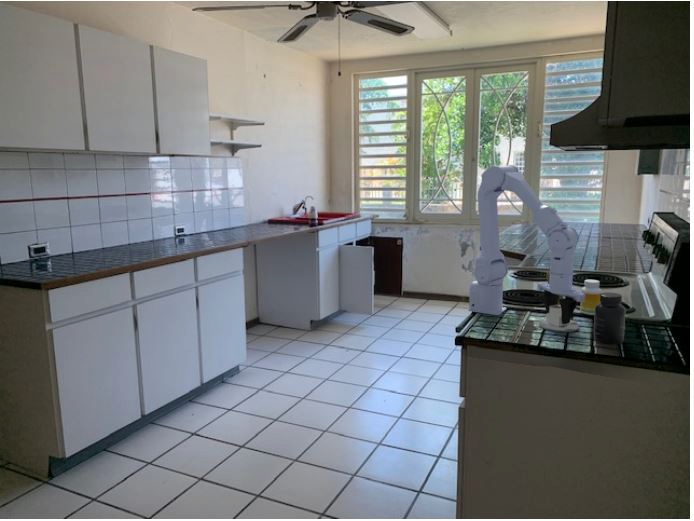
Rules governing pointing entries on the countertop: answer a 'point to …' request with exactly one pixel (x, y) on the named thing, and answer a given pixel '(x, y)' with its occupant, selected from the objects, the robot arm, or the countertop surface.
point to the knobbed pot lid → (554, 328)
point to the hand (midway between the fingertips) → (558, 320)
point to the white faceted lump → (555, 315)
